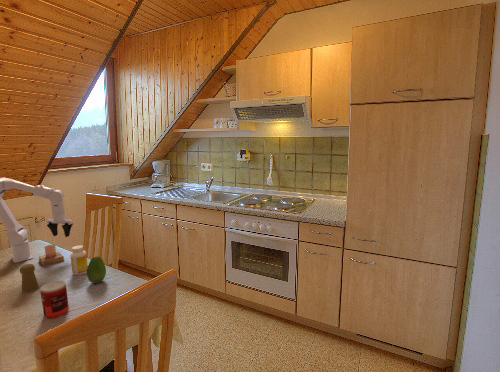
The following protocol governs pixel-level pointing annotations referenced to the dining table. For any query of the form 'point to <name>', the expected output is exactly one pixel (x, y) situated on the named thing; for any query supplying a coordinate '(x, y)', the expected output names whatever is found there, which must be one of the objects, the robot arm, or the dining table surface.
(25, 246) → the robot arm
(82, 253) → the supplement bottle
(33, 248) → the dining table surface
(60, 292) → the canned food
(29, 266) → the cork
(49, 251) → the tan rounded cylinder
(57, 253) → the walnut board
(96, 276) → the fruit
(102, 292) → the dining table surface
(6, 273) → the dining table surface
